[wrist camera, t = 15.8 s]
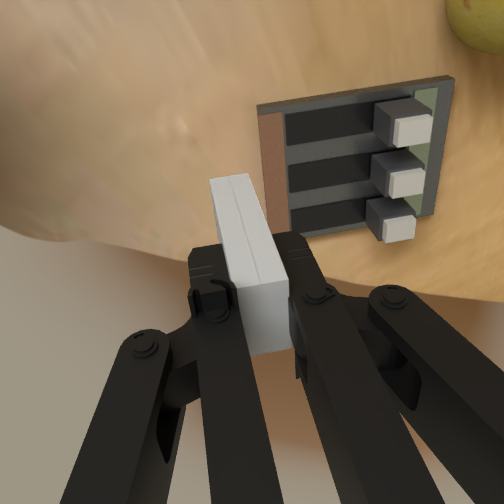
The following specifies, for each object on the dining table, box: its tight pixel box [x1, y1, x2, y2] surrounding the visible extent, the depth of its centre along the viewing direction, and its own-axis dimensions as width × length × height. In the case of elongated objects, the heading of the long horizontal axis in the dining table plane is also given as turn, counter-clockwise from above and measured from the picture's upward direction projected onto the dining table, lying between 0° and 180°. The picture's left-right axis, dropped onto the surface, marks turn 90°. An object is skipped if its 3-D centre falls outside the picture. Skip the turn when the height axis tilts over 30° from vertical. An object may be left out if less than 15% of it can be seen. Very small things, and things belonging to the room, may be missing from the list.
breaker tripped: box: [365, 196, 416, 243], centre depth 50 cm, size 4×3×5 cm
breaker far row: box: [373, 97, 433, 148], centre depth 44 cm, size 4×3×5 cm
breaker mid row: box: [370, 149, 426, 199], centre depth 47 cm, size 4×3×5 cm
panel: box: [257, 75, 455, 238], centre depth 50 cm, size 20×16×2 cm
